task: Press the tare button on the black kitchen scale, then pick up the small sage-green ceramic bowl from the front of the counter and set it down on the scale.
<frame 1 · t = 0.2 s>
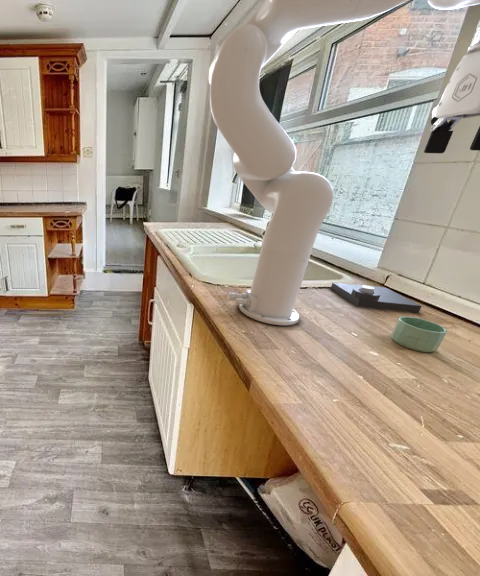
hand: (455, 151, 56), 36 cm above the countertop, tool pointing down, fingers open, 9 cm apart
tare button: (367, 289, 79), point 4 cm above the countertop, slide at 0.1 cm
scale: (370, 299, 84), on the countertop
bowl: (412, 344, 62), on the countertop
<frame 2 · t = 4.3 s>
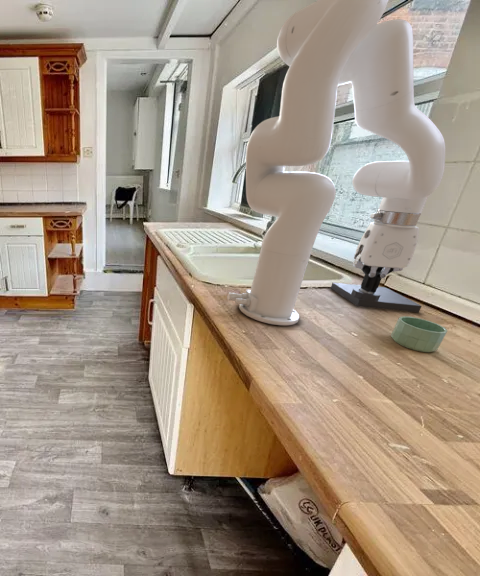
hand: (367, 290, 79), 4 cm above the countertop, tool pointing down, fingers closed
tare button: (365, 293, 80), point 3 cm above the countertop, slide at -0.8 cm, touching gripper
everything else where it was.
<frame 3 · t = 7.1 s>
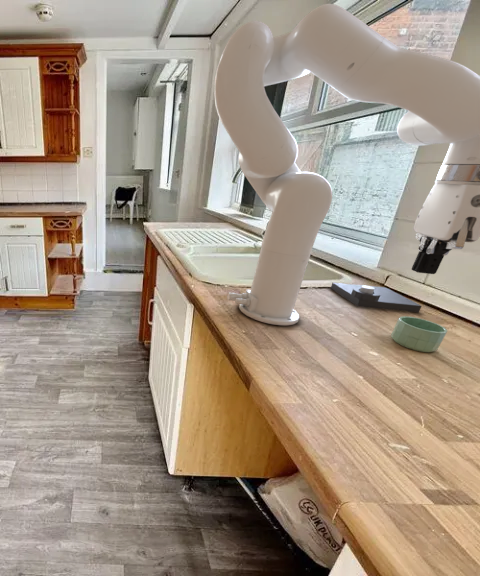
hand: (422, 271, 62), 14 cm above the countertop, tool pointing down, fingers closed
tare button: (367, 289, 79), point 4 cm above the countertop, slide at 0.1 cm
everything else where it was.
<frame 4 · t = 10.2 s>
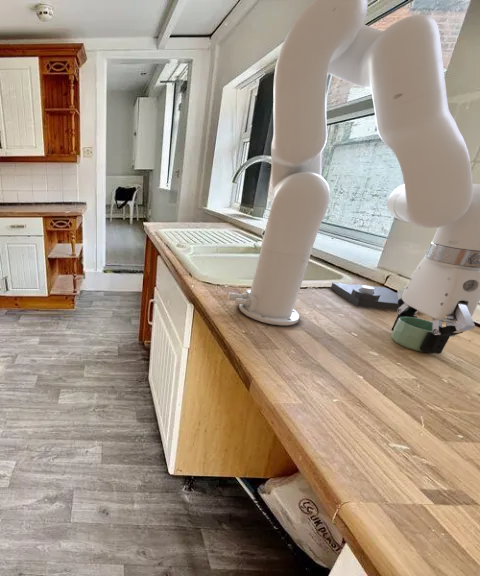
hand: (414, 340, 62), 1 cm above the countertop, tool pointing down, fingers closed on bowl, 6 cm apart
bowl: (412, 344, 62), on the countertop, touching gripper
everything else where it was.
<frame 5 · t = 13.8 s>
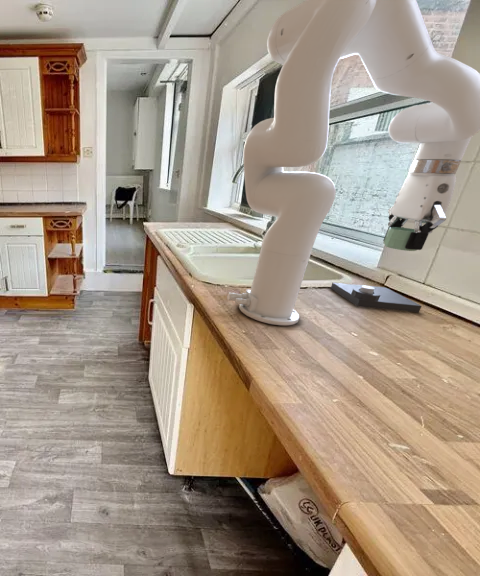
hand: (401, 244, 76), 16 cm above the countertop, tool pointing down, fingers closed on bowl, 6 cm apart
bowl: (400, 248, 77), point 15 cm above the countertop, touching gripper
everything else where it was.
when the fingers open (3 cm above the countertop, at t = 17.7 s): bowl stays where it is, resting on scale.
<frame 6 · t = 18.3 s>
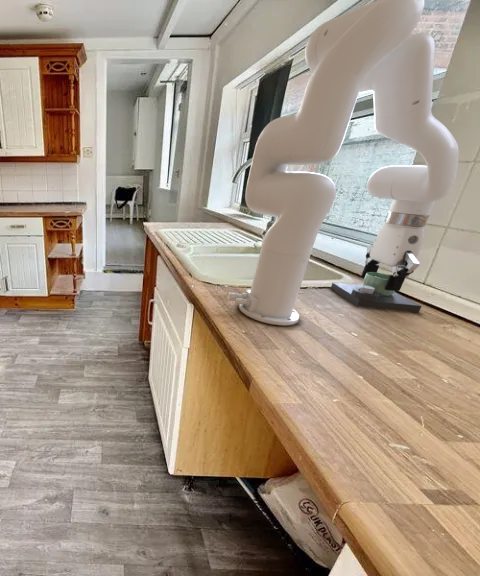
hand: (378, 283, 83), 4 cm above the countertop, tool pointing down, fingers open, 9 cm apart
bowl: (376, 291, 84), point 2 cm above the countertop, touching scale
everything else where it was.
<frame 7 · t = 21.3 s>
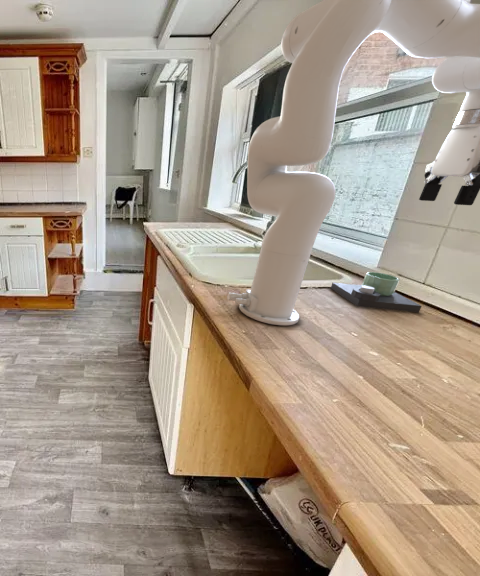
hand: (443, 202, 72), 26 cm above the countertop, tool pointing down, fingers open, 9 cm apart
nothing on the countertop moved.
at the end: tare button pushed in 0.9 cm at the most during the clip, back to where it started at the end; bowl inside the target area on the scale (2.2 cm from its centre), point 1.9 cm above the scale's base; bowl tilted 0° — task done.
